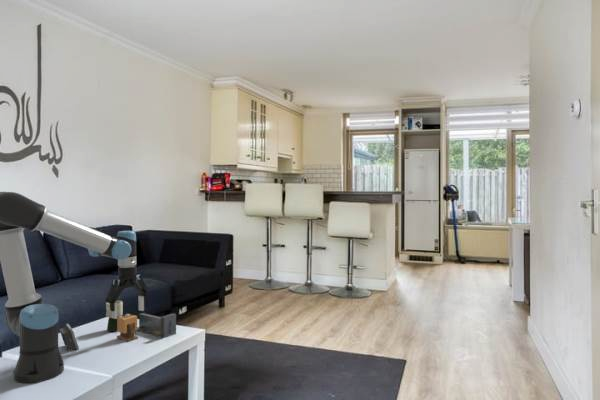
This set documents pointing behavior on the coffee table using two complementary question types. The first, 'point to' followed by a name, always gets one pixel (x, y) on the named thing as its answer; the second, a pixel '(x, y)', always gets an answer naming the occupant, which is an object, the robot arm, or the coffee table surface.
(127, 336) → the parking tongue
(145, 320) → the rail
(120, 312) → the character mug
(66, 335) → the electrical switch
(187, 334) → the coffee table surface
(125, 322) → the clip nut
